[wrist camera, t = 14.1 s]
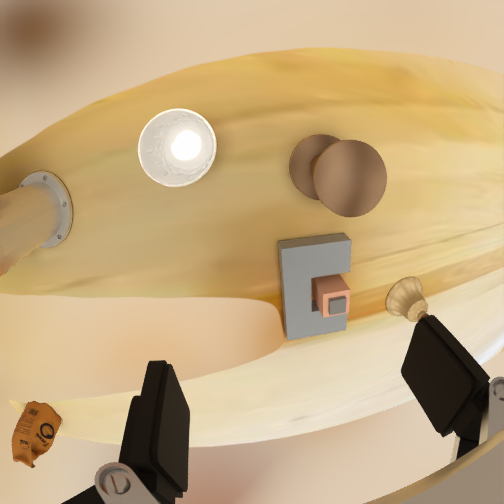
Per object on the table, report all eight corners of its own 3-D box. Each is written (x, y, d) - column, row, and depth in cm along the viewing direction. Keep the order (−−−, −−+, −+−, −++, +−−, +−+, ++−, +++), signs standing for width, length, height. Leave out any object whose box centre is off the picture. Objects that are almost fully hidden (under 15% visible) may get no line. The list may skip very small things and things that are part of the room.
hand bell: (406, 268, 44) (459, 320, 29) (428, 288, 46) (476, 336, 32) (377, 305, 47) (420, 364, 32) (401, 320, 49) (442, 375, 34)
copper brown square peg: (312, 274, 43) (324, 297, 37) (336, 270, 43) (352, 292, 37) (312, 296, 45) (324, 320, 38) (336, 292, 45) (350, 315, 38)
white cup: (158, 120, 33) (134, 116, 24) (218, 112, 33) (212, 103, 24) (165, 177, 36) (143, 192, 27) (223, 170, 36) (220, 182, 27)
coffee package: (67, 422, 59) (46, 477, 38) (43, 418, 59) (22, 468, 39) (47, 401, 55) (21, 459, 34) (24, 398, 55) (-1, 449, 35)
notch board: (277, 241, 40) (281, 249, 38) (343, 232, 41) (351, 240, 38) (284, 329, 47) (287, 340, 44) (340, 319, 47) (345, 329, 44)
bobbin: (292, 201, 38) (313, 226, 28) (286, 136, 35) (307, 136, 25) (352, 195, 38) (389, 217, 28) (349, 133, 35) (389, 135, 25)
